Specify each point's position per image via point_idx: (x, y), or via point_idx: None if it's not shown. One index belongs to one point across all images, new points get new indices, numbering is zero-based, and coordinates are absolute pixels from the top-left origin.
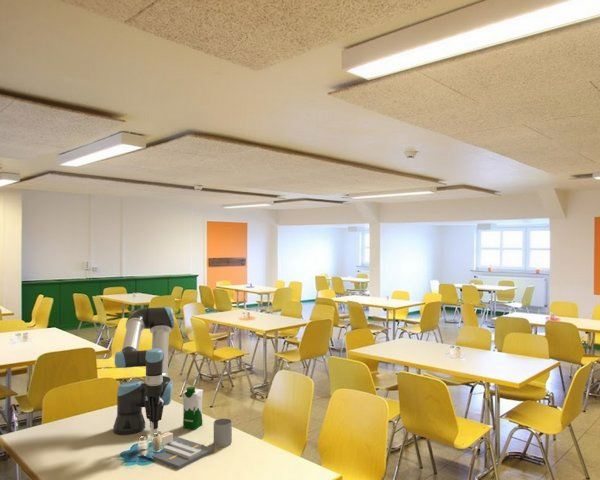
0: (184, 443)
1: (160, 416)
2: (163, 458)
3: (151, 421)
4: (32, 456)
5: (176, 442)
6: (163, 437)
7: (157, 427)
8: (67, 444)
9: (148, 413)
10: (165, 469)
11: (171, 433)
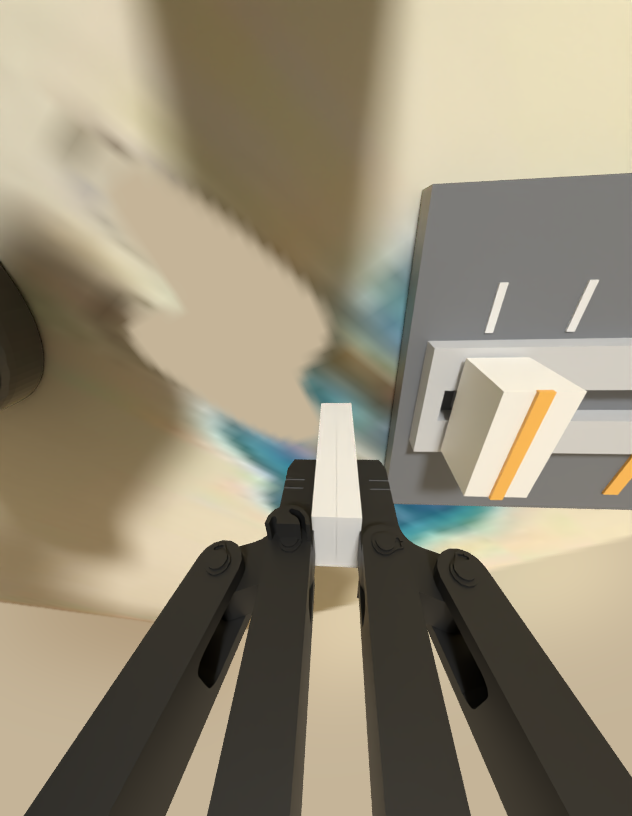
0: (622, 269)
1: (527, 665)
2: (565, 499)
3: (319, 558)
4: (101, 606)
5: (570, 348)
6: (529, 488)
7: (383, 471)
8: (46, 547)
9: (216, 682)
10: (603, 516)
11: (568, 404)
